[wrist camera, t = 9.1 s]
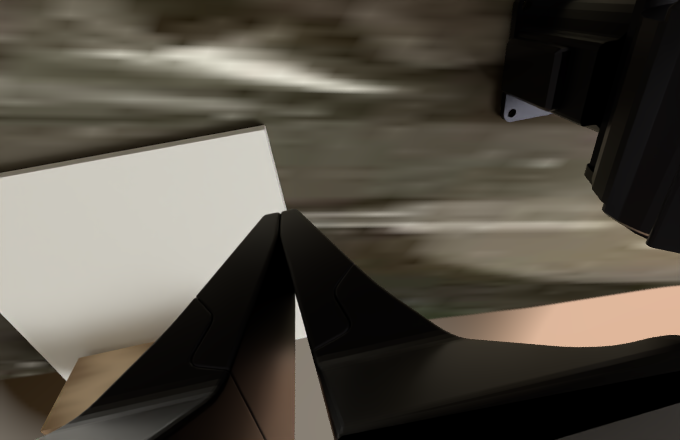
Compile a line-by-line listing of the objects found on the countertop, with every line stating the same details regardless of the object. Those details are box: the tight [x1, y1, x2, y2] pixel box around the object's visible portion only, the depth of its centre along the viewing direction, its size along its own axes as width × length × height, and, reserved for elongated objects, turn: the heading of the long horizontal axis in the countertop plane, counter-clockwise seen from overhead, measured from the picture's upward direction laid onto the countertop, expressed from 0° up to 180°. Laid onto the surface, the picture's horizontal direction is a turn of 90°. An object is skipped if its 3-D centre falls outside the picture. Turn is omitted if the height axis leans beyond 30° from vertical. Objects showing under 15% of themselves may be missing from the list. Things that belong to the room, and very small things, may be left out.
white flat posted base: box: [0, 125, 307, 381], centre depth 21 cm, size 19×17×7 cm
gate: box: [41, 341, 155, 435], centre depth 23 cm, size 14×2×6 cm, turn 98°
